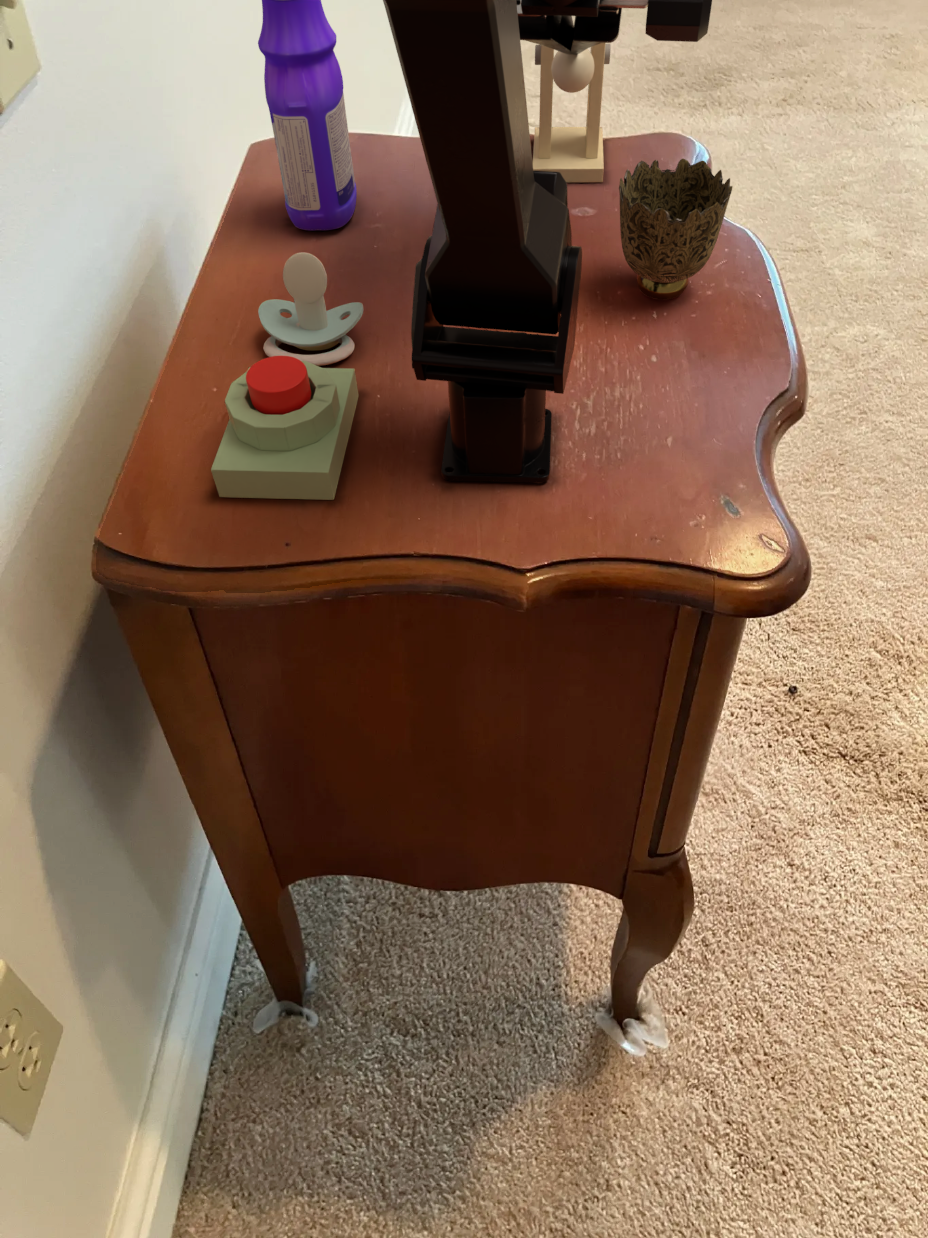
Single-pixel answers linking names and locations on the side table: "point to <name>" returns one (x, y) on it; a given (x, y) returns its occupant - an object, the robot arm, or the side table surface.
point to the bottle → (308, 113)
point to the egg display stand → (570, 146)
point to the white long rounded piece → (572, 70)
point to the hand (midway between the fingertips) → (573, 47)
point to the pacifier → (308, 315)
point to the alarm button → (278, 385)
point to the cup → (670, 223)
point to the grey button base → (287, 441)
